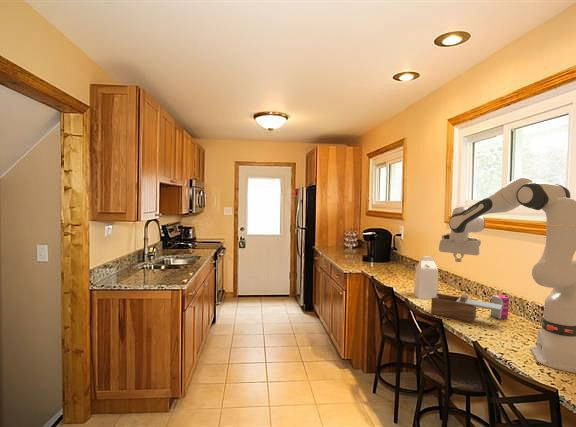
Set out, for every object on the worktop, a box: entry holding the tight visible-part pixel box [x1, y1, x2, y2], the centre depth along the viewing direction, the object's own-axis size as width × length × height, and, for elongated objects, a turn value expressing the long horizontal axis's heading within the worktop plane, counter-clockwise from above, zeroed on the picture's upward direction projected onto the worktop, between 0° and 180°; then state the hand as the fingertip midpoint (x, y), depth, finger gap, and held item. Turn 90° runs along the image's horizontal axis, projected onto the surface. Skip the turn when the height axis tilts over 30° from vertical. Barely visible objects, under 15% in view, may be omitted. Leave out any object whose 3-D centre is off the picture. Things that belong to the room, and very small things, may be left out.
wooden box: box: [430, 292, 478, 324], centre depth 189 cm, size 12×20×9 cm, turn 54°
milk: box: [413, 255, 439, 300], centre depth 226 cm, size 12×12×26 cm
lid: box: [456, 293, 502, 311], centre depth 182 cm, size 9×20×4 cm, turn 54°
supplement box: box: [490, 294, 510, 320], centre depth 188 cm, size 6×6×12 cm
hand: (458, 261), depth 194 cm, fingers closed
